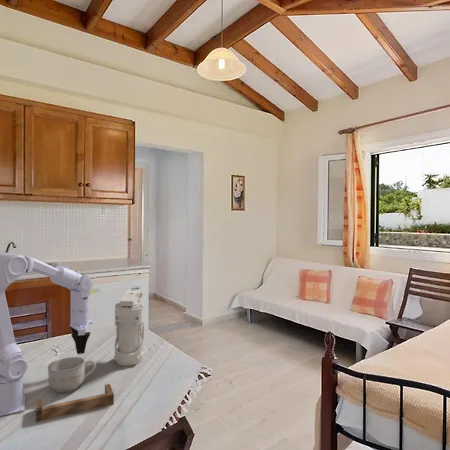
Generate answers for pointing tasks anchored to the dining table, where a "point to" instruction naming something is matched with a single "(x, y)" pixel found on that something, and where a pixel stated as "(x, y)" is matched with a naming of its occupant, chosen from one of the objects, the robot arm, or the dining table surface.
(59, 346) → the scissors
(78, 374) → the teacup
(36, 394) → the dining table surface
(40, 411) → the dock
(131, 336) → the lantern
